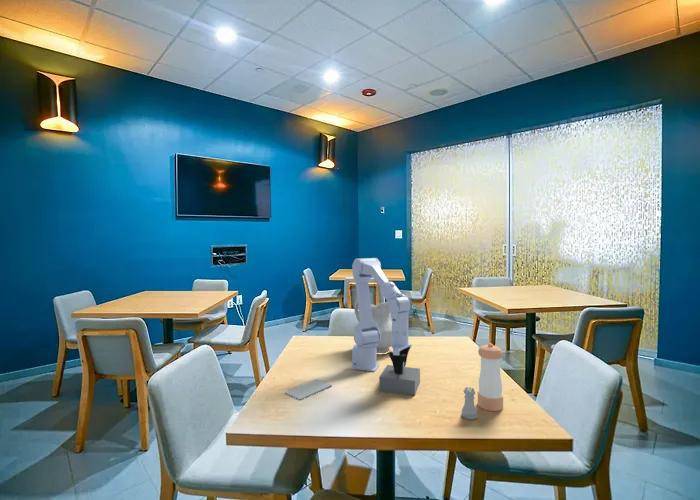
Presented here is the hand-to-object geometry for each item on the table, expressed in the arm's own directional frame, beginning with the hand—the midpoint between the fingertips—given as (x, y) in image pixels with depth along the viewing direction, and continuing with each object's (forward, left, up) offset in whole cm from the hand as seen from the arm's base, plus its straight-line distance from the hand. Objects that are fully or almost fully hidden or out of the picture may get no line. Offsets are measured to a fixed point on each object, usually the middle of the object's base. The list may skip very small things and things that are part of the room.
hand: (400, 369), depth 123 cm
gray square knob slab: (0, 0, -6) cm, 6 cm away
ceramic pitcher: (-19, +37, -6) cm, 42 cm away
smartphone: (-29, -13, -6) cm, 32 cm away
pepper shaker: (+29, -6, -6) cm, 30 cm away
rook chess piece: (+23, -15, -6) cm, 28 cm away
